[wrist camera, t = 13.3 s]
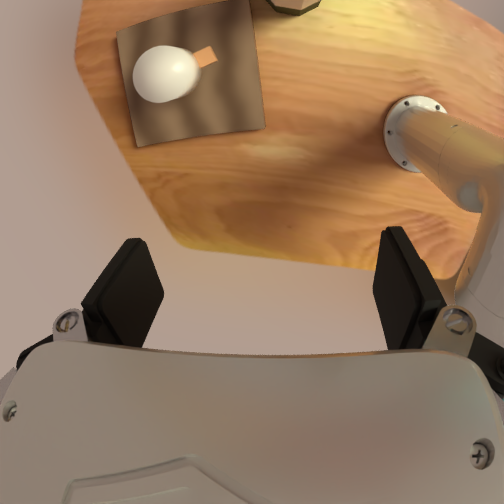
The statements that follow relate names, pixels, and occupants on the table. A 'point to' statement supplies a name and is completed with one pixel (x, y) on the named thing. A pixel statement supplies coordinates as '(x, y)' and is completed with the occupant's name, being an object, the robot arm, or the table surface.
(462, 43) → the table surface
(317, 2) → the wine bottle
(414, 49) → the table surface
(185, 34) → the post board
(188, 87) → the light bulb
